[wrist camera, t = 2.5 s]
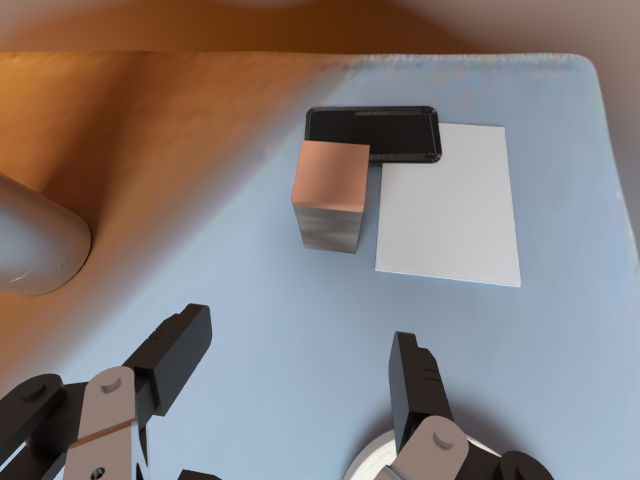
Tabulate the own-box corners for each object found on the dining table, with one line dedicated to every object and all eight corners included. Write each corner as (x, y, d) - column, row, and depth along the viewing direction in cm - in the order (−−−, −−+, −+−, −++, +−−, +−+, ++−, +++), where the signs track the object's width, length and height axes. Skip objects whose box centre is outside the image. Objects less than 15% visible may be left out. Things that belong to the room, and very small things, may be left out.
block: (305, 248, 30) (291, 198, 21) (312, 203, 32) (302, 140, 22) (355, 253, 30) (364, 206, 20) (359, 208, 31) (369, 145, 22)
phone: (443, 162, 32) (302, 161, 33) (440, 168, 33) (303, 167, 34) (436, 105, 35) (307, 106, 36) (433, 112, 36) (307, 113, 37)
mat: (374, 270, 29) (375, 269, 28) (385, 122, 35) (386, 119, 35) (518, 287, 28) (521, 285, 27) (502, 130, 34) (504, 127, 33)
